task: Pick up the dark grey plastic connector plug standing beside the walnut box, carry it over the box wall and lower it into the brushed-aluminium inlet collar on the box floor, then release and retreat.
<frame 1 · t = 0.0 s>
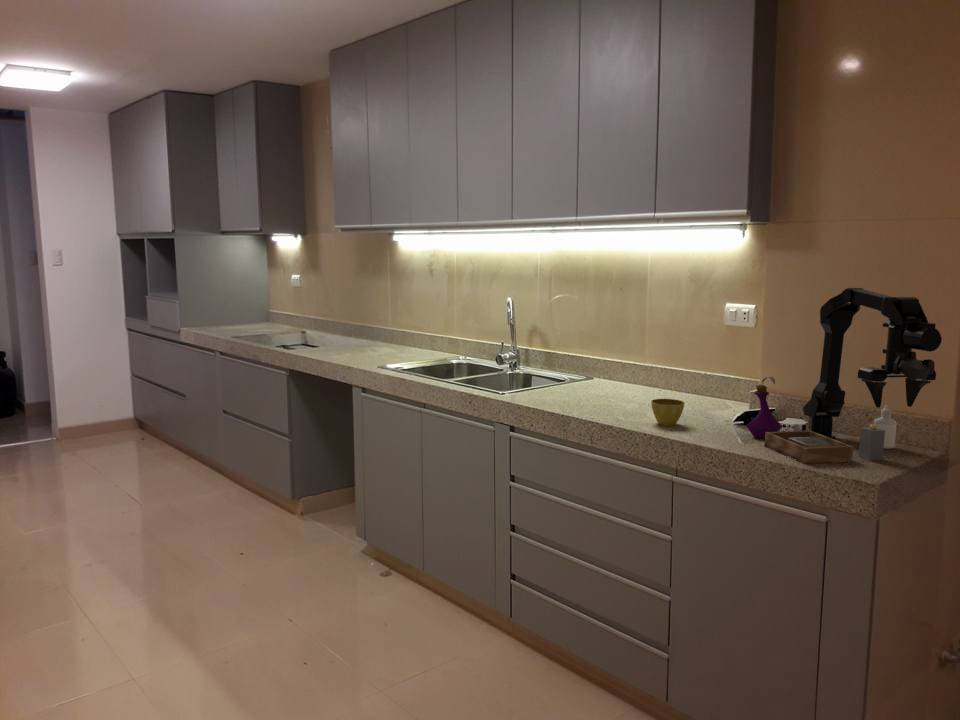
hand: (893, 406, 198), 15 cm above the countertop, fingers open, 9 cm apart
flower pot: (666, 424, 241), on the countertop
inlet collar: (809, 454, 207), resting on walnut box
perfume bottle: (763, 437, 226), on the countertop
walnut box: (806, 453, 208), on the countertop
eye dropper bottle: (882, 447, 216), on the countertop
connector plug: (870, 458, 204), on the countertop
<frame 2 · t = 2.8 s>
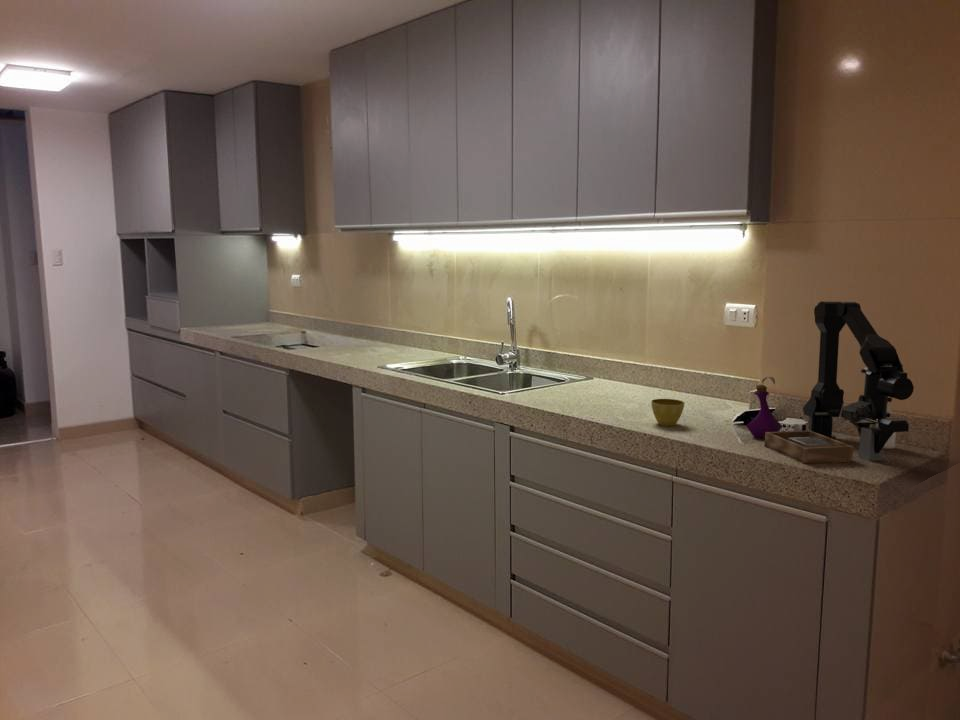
hand: (871, 450, 204), 2 cm above the countertop, fingers closed on connector plug, 4 cm apart
connector plug: (870, 458, 204), on the countertop, touching gripper
everything else where it was.
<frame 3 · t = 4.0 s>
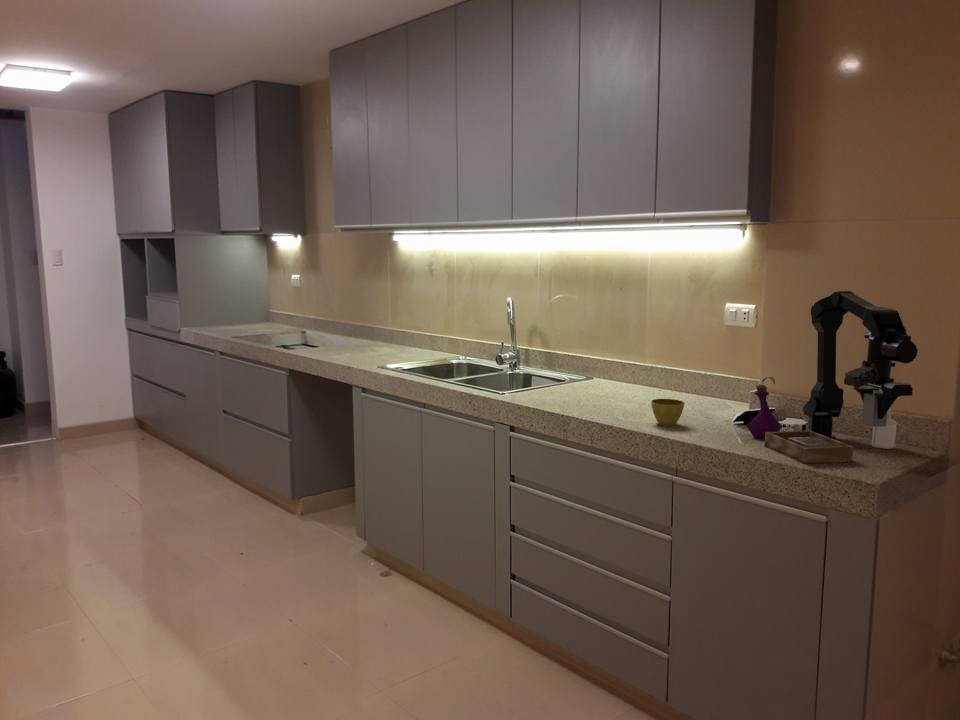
hand: (874, 417, 202), 11 cm above the countertop, fingers closed on connector plug, 4 cm apart
connector plug: (873, 424, 203), point 9 cm above the countertop, touching gripper
everything else where it was.
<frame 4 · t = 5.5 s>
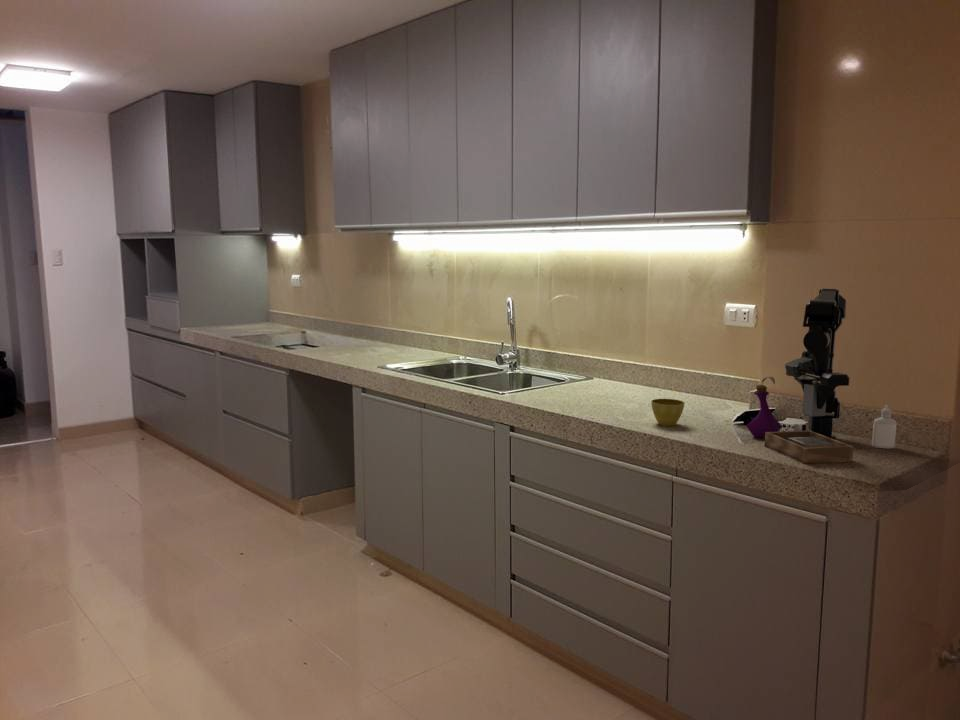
hand: (814, 407, 205), 13 cm above the countertop, fingers closed on connector plug, 4 cm apart
connector plug: (813, 414, 205), point 11 cm above the countertop, touching gripper
everything else where it was.
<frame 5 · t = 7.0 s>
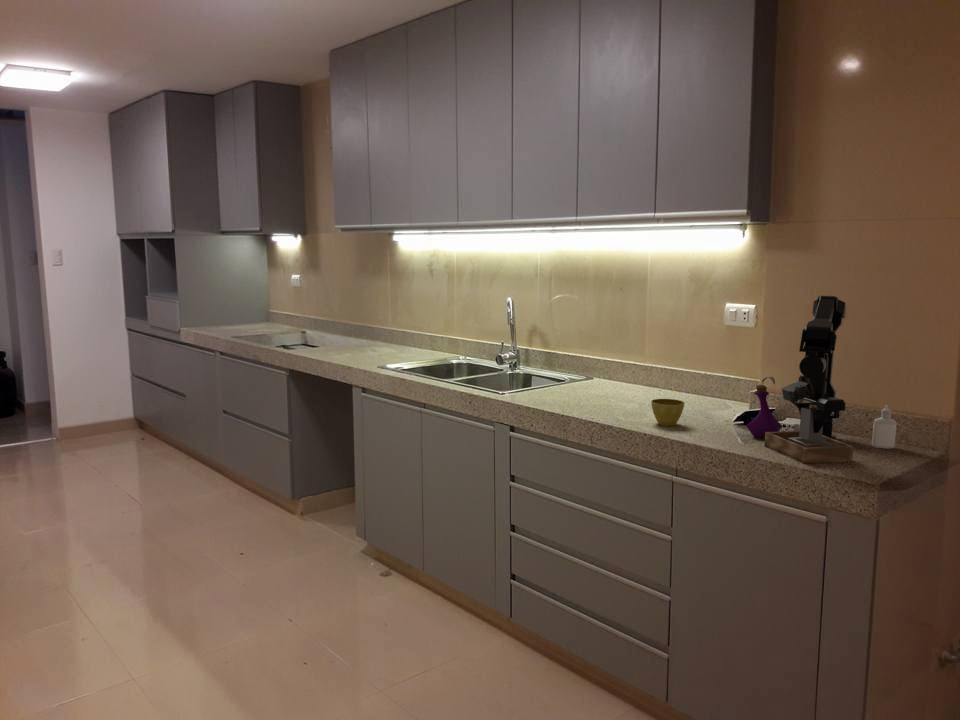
hand: (810, 430, 206), 7 cm above the countertop, fingers closed on connector plug, 4 cm apart
connector plug: (810, 438, 206), point 4 cm above the countertop, touching gripper
everything else where it was.
when the fingers open (4 cm above the countertop, at t = 8.3 s): connector plug drops 1 cm, resting on walnut box.
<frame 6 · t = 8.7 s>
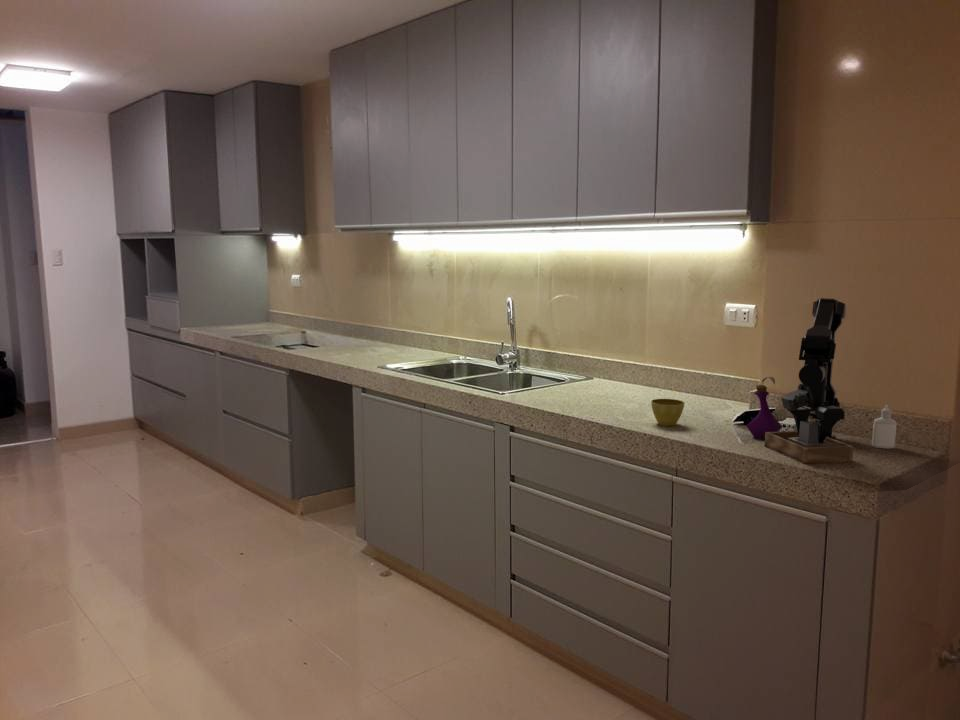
hand: (810, 438, 206), 4 cm above the countertop, fingers open, 8 cm apart
connector plug: (809, 451, 207), point 1 cm above the countertop, touching walnut box
everything else where it was.
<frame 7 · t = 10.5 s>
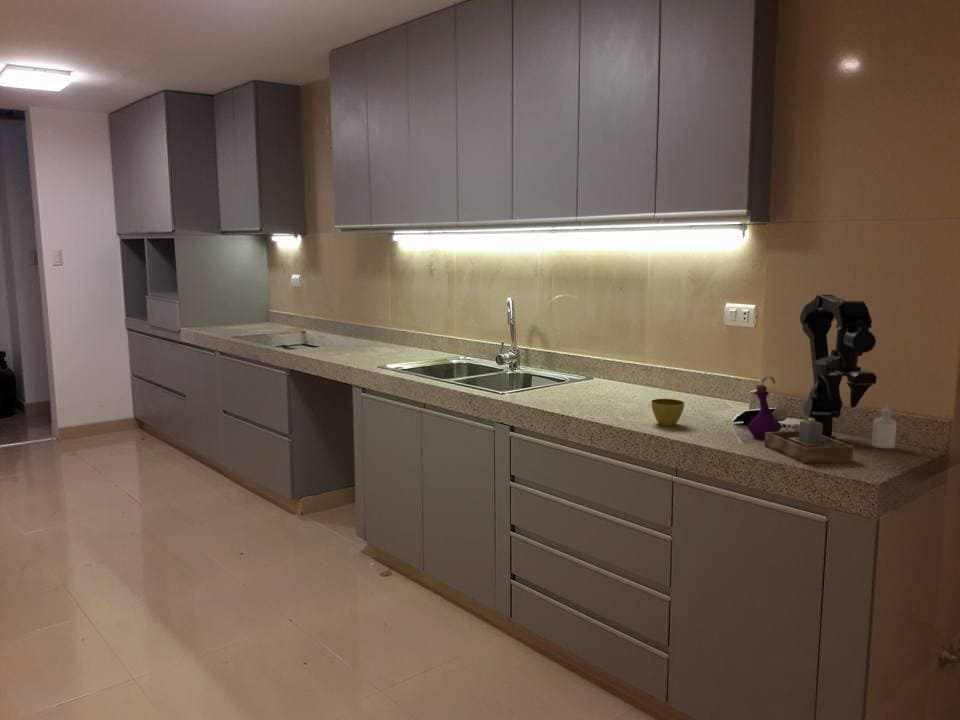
hand: (842, 403, 212), 13 cm above the countertop, fingers open, 9 cm apart
nothing on the countertop moved.
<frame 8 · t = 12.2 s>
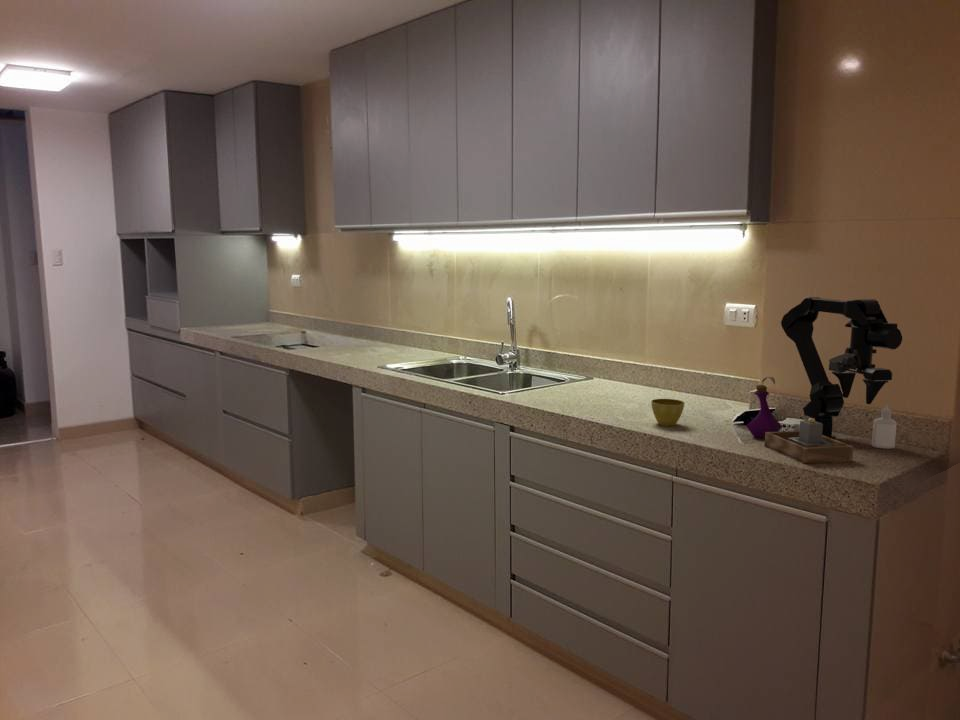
hand: (856, 400, 215), 13 cm above the countertop, fingers open, 9 cm apart
nothing on the countertop moved.
at the end: connector plug 0.1 cm off-centre on the inlet collar, point 0.8 cm above the inlet collar's base; connector plug tilted 0°; the gripper is holding nothing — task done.
